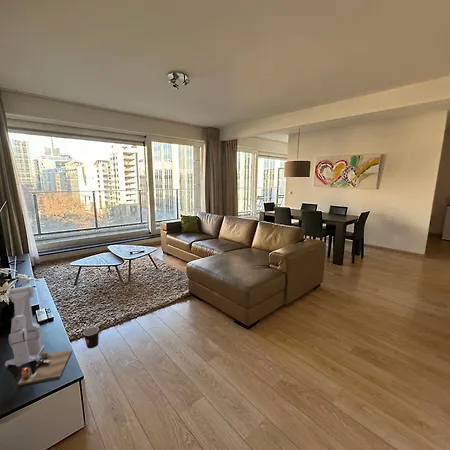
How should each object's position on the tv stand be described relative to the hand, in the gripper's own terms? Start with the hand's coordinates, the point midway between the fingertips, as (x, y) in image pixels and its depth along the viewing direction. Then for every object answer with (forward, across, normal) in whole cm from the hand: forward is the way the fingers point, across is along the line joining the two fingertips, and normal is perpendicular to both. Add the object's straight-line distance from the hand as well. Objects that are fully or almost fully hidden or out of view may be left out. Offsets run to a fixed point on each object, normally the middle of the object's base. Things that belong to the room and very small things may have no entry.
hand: (25, 374), depth 128 cm
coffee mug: (+4, +27, +22) cm, 34 cm away
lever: (+2, +3, +5) cm, 6 cm away
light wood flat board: (+3, +7, +7) cm, 11 cm away
